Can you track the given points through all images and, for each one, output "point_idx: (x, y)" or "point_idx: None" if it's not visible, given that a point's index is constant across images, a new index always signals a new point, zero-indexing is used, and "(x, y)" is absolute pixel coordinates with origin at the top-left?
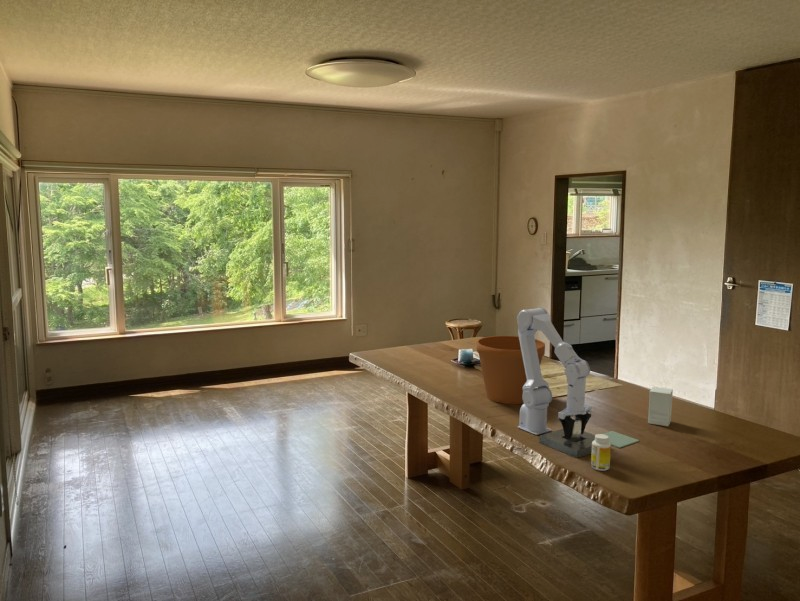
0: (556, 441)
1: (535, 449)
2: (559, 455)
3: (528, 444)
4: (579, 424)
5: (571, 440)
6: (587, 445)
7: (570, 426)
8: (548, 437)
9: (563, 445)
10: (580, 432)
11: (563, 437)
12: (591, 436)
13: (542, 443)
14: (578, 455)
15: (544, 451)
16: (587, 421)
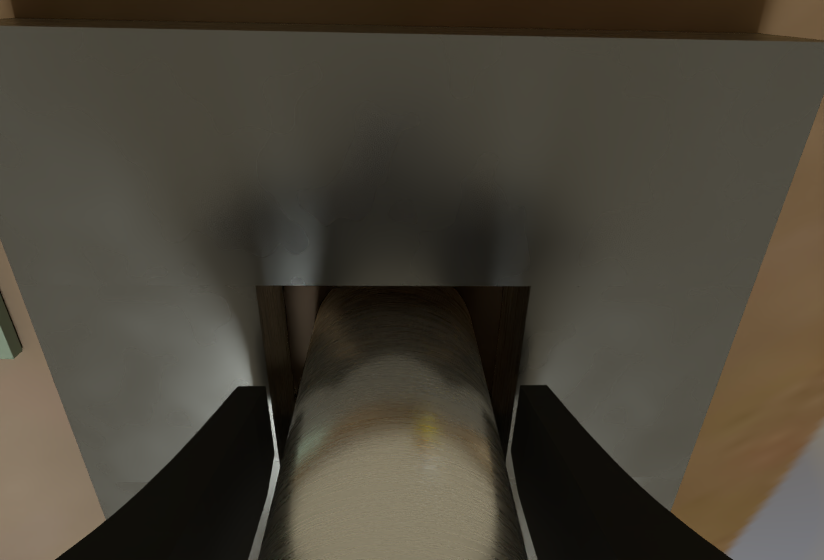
0: (681, 423)
1: (800, 445)
2: (809, 226)
3: (723, 532)
4: (411, 530)
5: (479, 362)
6: (487, 94)
7: (707, 543)
8: None
9: (741, 306)
10: (365, 389)
11: None
12: (115, 305)
13: None
14: (739, 35)
15: (796, 378)
16: (75, 554)
